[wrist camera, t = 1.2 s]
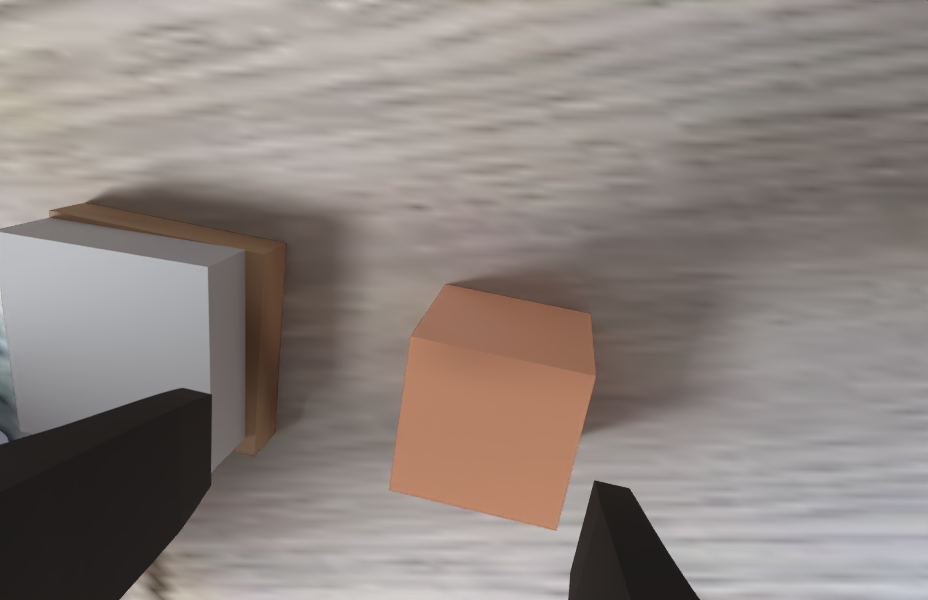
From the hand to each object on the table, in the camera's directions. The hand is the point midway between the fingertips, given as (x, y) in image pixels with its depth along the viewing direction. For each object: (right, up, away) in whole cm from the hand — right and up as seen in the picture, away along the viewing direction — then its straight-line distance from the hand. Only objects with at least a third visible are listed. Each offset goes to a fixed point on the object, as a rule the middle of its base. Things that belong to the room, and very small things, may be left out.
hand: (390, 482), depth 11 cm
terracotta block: (+3, +1, +8) cm, 9 cm away
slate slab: (-9, +2, +8) cm, 12 cm away
